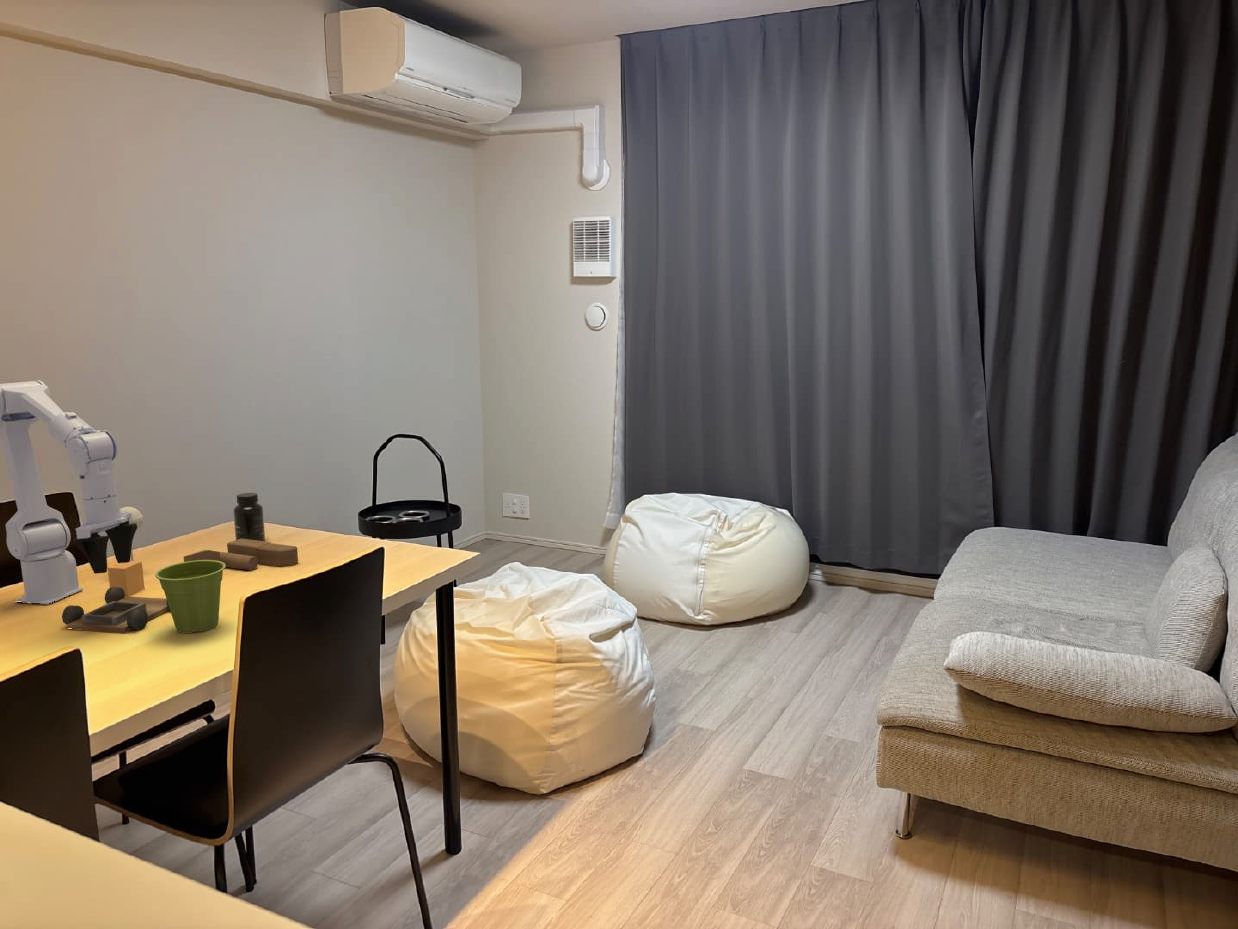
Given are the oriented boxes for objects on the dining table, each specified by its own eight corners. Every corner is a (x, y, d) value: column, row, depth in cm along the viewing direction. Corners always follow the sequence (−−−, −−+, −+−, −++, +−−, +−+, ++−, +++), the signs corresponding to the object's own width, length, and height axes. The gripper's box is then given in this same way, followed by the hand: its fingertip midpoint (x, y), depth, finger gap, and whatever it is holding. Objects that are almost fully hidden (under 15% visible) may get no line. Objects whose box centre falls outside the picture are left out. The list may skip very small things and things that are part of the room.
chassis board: (121, 600, 187) (119, 583, 186) (188, 604, 184) (186, 587, 183) (60, 629, 171) (57, 610, 171) (133, 633, 168) (130, 615, 168)
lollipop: (112, 575, 203) (104, 509, 200) (134, 568, 209) (126, 503, 206) (133, 578, 201) (125, 511, 198) (155, 570, 207) (148, 505, 204)
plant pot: (180, 616, 178) (175, 559, 175) (241, 616, 177) (236, 559, 175) (148, 639, 166) (141, 578, 164) (213, 639, 166) (207, 579, 163)
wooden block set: (237, 533, 218) (298, 541, 211) (239, 556, 219) (300, 564, 212) (179, 552, 202) (242, 560, 195) (181, 577, 203) (244, 586, 196)
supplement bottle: (230, 544, 227) (225, 497, 225) (245, 537, 234) (241, 491, 232) (256, 545, 226) (251, 498, 224) (270, 538, 233) (267, 491, 230)
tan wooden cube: (127, 588, 195) (124, 560, 194) (144, 589, 194) (141, 561, 193) (110, 595, 190) (107, 567, 189) (128, 596, 189) (124, 568, 188)
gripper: (98, 502, 165) (110, 576, 167) (142, 488, 180) (153, 556, 181) (60, 505, 166) (73, 579, 167) (107, 491, 180) (118, 559, 182)
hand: (112, 567), depth 174 cm, fingers open, 7 cm apart
